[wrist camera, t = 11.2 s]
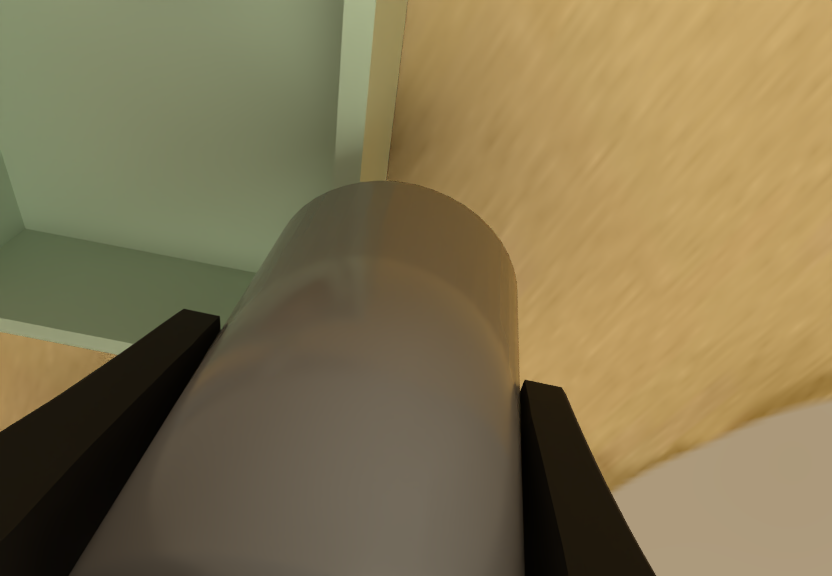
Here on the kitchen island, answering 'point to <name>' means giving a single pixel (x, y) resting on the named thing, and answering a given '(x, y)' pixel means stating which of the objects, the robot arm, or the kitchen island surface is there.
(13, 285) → the tote
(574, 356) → the kitchen island surface
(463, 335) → the cylinder
